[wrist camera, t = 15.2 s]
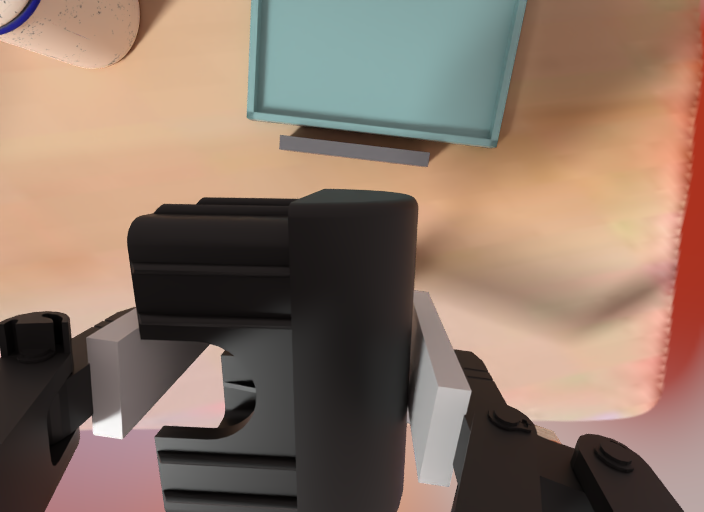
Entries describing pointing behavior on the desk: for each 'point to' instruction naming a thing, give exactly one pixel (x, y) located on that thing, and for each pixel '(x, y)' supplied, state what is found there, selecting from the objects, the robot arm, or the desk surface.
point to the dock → (354, 151)
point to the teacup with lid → (72, 29)
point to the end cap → (286, 346)
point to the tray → (385, 66)
